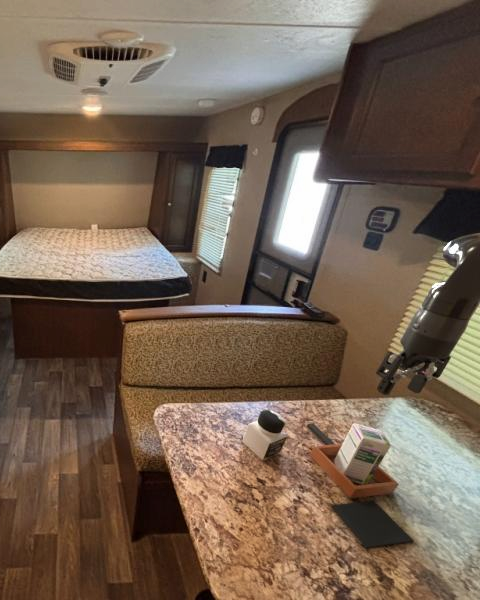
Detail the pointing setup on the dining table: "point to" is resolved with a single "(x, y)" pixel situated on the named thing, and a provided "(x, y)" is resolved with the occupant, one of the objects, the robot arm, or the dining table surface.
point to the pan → (330, 448)
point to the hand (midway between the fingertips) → (397, 391)
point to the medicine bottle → (266, 435)
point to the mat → (371, 524)
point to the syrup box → (361, 453)
